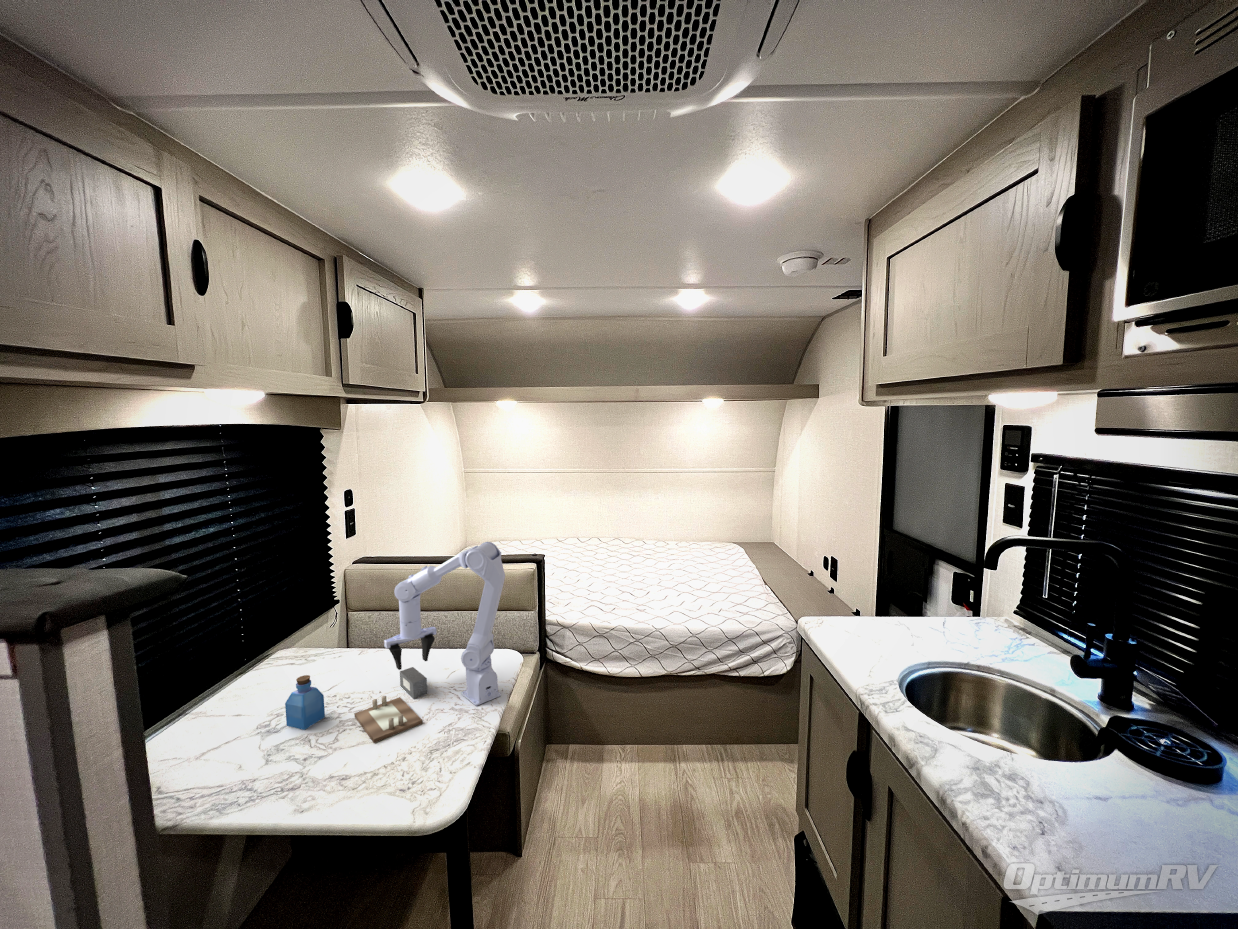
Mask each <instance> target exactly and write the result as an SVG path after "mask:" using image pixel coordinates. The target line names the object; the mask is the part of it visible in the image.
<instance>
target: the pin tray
mask: <svg viewBox="0 0 1238 929" xmlns="http://www.w3.org/2000/svg"><path fill="white" fill-rule="evenodd" d="M371 702H372V704H371V705H372V706H371V707H369V708H366V709H363V710H360V711H356V712H355V713H354V718H355V719H356V721H357V723H358V724H359V725H360V726H361V728H362V730H364V732H365V733H366V735H367V736H368V737H369V739H370V740H371V741H372V743H373V744H376V743H377V742H380V741H383V740H385V739H389V738H390V737H392V736H395V735H398V734H399V733H403V732H405V731H408V730H410V729H413V728H415V727H418V726H419V725H422V724H423V719H422V718H421V717H420V716H419V715H418V714H417V713H416V712H415V711H414V710H413V709H412V708H411V707H410V706H409V704H407V702H405V701H404V699H403V698H402V697H401V696H400V697H396V698H394V699H391V700H388V701H387V696H386V695H383V696H381V703H380V704H378V699H377V698H374V699H373V700H372V701H371Z"/></svg>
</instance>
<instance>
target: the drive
mask: <svg viewBox="0 0 1238 929" xmlns="http://www.w3.org/2000/svg"><path fill="white" fill-rule="evenodd" d="M399 681H400V682H399V685H400V686H401V687H402V688H403V689H404V690H405V691H406V694H408V695H409V696H410V697H411V698H412V699H413V700H416V699H418V698H420V697H423V696H425V695H428V678H427V677H426V676H425V675H424V674H422V673H421V672H420V671H419V670H417V669H416V668H415V667H414V666H411V667H409V668H405V669H403V670H402V669H401V670H399ZM401 687H400V688H401ZM402 688H401V689H402ZM403 689H402V690H403ZM405 691H404V692H405ZM415 698H416V699H415Z"/></svg>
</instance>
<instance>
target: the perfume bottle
mask: <svg viewBox="0 0 1238 929" xmlns="http://www.w3.org/2000/svg"><path fill="white" fill-rule="evenodd" d="M295 688H296V690H294V691H292V692H291V693H290V695H289V696H288V698H287V699H286V701H285V703H284V705H285V706H284V707H285V708H284V709H285V720H286V721H285V722H286V727H289V728H290V727H291V728H292V729H293V728H294V729H299V730H302V731H306V730H307V729H308V728H310V727H311V726H313V725H315V724H316V723H319V721H321V720H322V719H325V718H326V713H325V712H326V709H325V696H324V693H323V692H321V691H320V690H319V689H318V687H316V686H312V680H311V675H309V674H308V675H307V674H306V675H301V676H299V677H296V683H295Z"/></svg>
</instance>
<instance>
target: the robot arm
mask: <svg viewBox="0 0 1238 929" xmlns="http://www.w3.org/2000/svg"><path fill="white" fill-rule="evenodd" d="M461 567H462V568H463V569H466V570H467V569H468V568H469V569H470V570H471V571H472V572H474V573H475V574H476V575H477V576H479V577H480V578H481V579H482V580H483V581H484V586H483V590H482V593H481V594H482V595H481V598H480V602H479V606H478V610H477V616H476V619H475V624H474V628H473V631H472V634H471V636H470V638H469V640H468V642H467V645H466V648H465V650H463V652H462V654H461V656H460V659H461V663H462V665H463V666H464V667H465V684H466V685H465V686H466V689H465V690H463V691H461V695H462V696H463V697H464V698H466V699H467V700H468V701H470V702H471V703H472V704H473V705H474V706H479V705H482V704H484V703H486V702H489V701H491V700H494V699H496V698H499V697H501V696H502V694H501V693H500V692H499V682H498V674H497V672H495V670H494V669H493V667H492V665H493V664H492V657H491V656H492V654H493V652H494V650H495V644H494V636H495V635H494V634H493V633H492V632H493V629H494V625H495V621H496V617H497V612H498V609H499V604H500V599H501V596H502V592H503V589H504V588H503V587H504V583H505V580H506V573H505V570H504V566H503V561H502V551H501V550H500V548H499V547H498V546H497V545H496V544H494V542H491V541H485V542H483V543H481V544H480V545H475V546H473V547H471V548H467V549H466V550H463V551H461V552H460V553H457V554H456V555H454V556H453V557H451V558H449V559H447V560H446V561H444V562H443V563H441V564H440V565H438V566H435V565H429V566H428V565H425V566H423V567H422V568H420V571H417V573H415V574H413V573H412V574H410V575H408V577H407V579H404V580H403V581H400V582H399V583H398V584H396V585H395V587H394V591H393V592H394V593H393V594H394V597H395V598H396V599H397V600H398V609H399V610H398V612H399V629H400V630H399V631H400V632H399V634H396V635H395V636H392V637H390V638H387V639H384V640H383V642H384V644H383V646H384V648H385V649H387V650H388V651H389V652H390V653H391V655H392V658H393V660H394V663H395V666H396V669H397V670H398V671H402V667H403V666H402V649H403V648H401V646H400V644H404V643H407V642H411V641H416V640H418V639H420V641H421V655H422V660H423V661H424V662H428V661H429V660H428V659H429V656H430V651H431V648H432V646H433V643H435V638H436V637H435V635H437V627H436V626H434V625H433V626H430V627H425V628H422V617H421V615H422V614H421V613H422V612H421V595H422V593H424V592H426V591H428V590H429V589H432V588H434V587H435V586H437V585H438V584H440V583H441V582H442V577H444V576H445V575H447V574H448V573H451V572H453V571H455V570H456V569H458V568H461Z"/></svg>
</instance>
